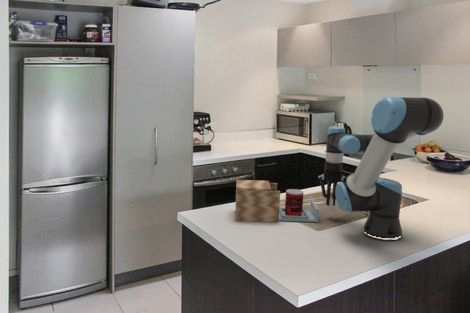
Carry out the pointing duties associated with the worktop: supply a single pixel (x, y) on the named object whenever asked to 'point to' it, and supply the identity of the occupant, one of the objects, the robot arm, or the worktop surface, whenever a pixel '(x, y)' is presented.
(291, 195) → the canned food
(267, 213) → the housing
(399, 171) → the worktop surface
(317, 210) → the tray
